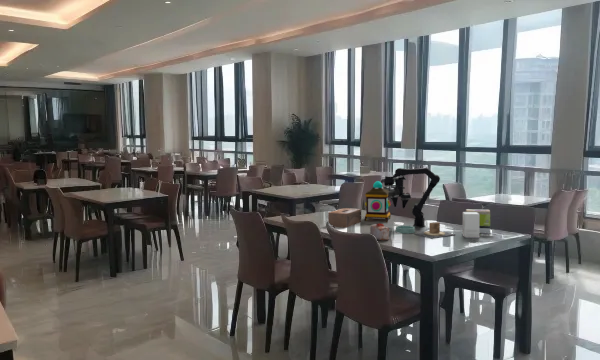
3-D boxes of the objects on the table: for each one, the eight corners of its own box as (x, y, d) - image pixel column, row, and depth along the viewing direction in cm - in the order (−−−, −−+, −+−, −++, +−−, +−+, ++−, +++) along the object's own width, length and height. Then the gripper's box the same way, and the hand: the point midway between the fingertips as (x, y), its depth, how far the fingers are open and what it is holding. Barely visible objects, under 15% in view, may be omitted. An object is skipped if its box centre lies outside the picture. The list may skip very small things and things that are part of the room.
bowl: (406, 229, 331) (406, 225, 331) (418, 232, 320) (418, 227, 320) (392, 231, 325) (392, 226, 325) (404, 234, 315) (404, 229, 314)
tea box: (489, 231, 320) (490, 209, 319) (490, 234, 310) (490, 211, 309) (465, 230, 325) (466, 208, 324) (465, 233, 315) (466, 210, 314)
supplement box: (476, 235, 309) (477, 211, 307) (479, 237, 300) (480, 214, 299) (462, 234, 310) (462, 211, 309) (464, 237, 301) (464, 213, 300)
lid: (435, 231, 320) (435, 220, 319) (449, 234, 308) (449, 223, 308) (419, 233, 314) (419, 222, 313) (434, 236, 302) (434, 225, 302)
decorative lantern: (367, 217, 384) (367, 179, 381) (392, 218, 378) (392, 180, 375) (362, 221, 365) (362, 182, 362) (389, 222, 359) (389, 182, 356)
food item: (391, 240, 297) (391, 224, 296) (380, 241, 293) (380, 225, 292) (378, 236, 309) (378, 221, 308) (368, 237, 306) (368, 222, 305)
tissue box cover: (346, 228, 341) (346, 214, 340) (328, 226, 348) (328, 212, 347) (361, 222, 362) (361, 209, 362) (344, 220, 370) (343, 208, 369)
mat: (437, 231, 323) (437, 230, 323) (455, 235, 308) (455, 234, 308) (414, 234, 313) (414, 233, 313) (431, 238, 299) (431, 237, 299)
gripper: (382, 185, 348) (382, 206, 349) (398, 187, 331) (398, 210, 332) (394, 184, 353) (394, 205, 354) (411, 186, 336) (411, 208, 338)
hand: (399, 207), depth 344 cm, fingers open, 9 cm apart
